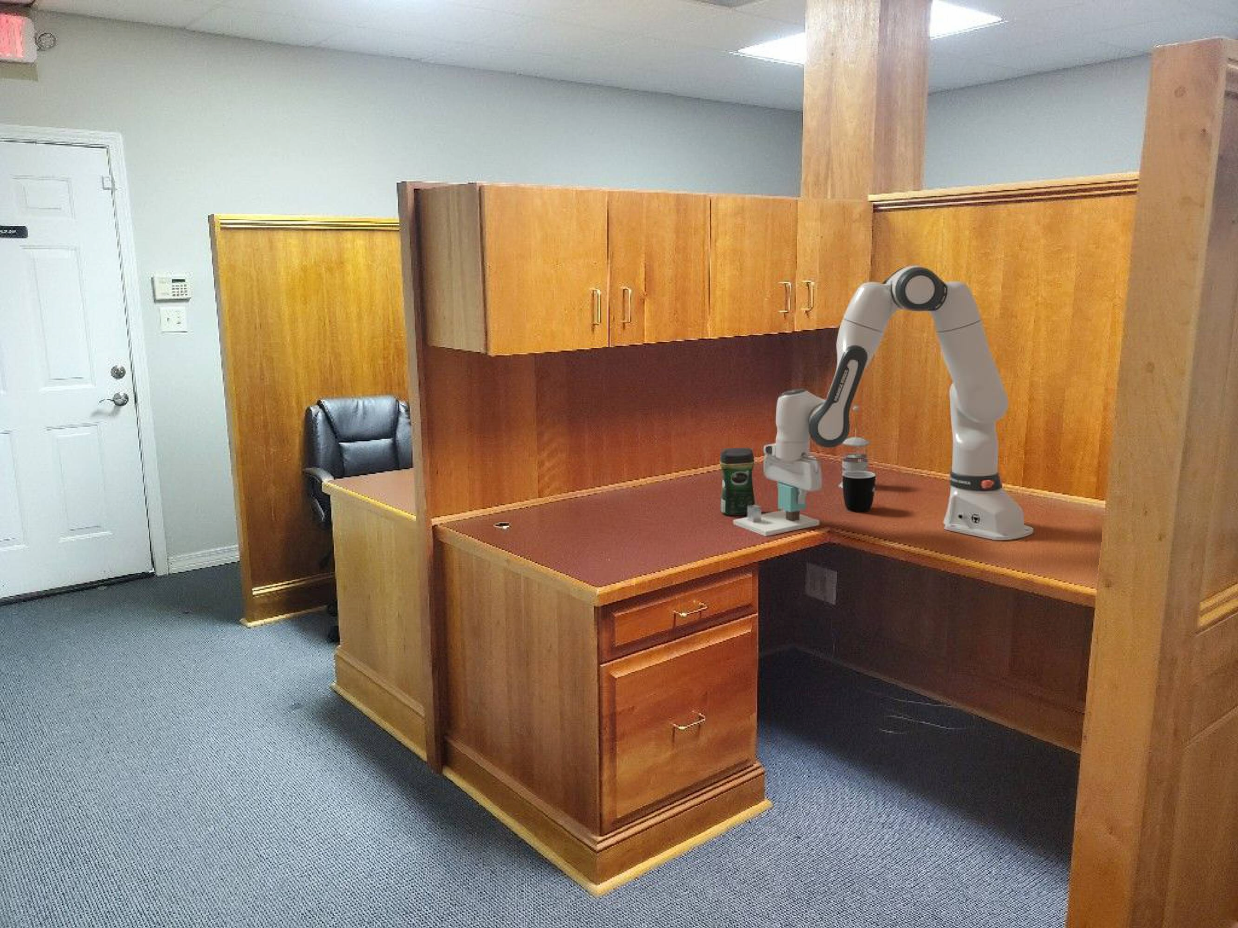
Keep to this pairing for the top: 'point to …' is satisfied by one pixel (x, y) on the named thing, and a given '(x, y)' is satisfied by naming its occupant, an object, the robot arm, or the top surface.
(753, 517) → the post
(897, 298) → the robot arm
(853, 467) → the french press
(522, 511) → the top surface
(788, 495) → the turquoise block
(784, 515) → the board
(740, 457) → the coffee jar
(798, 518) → the post
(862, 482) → the mug
